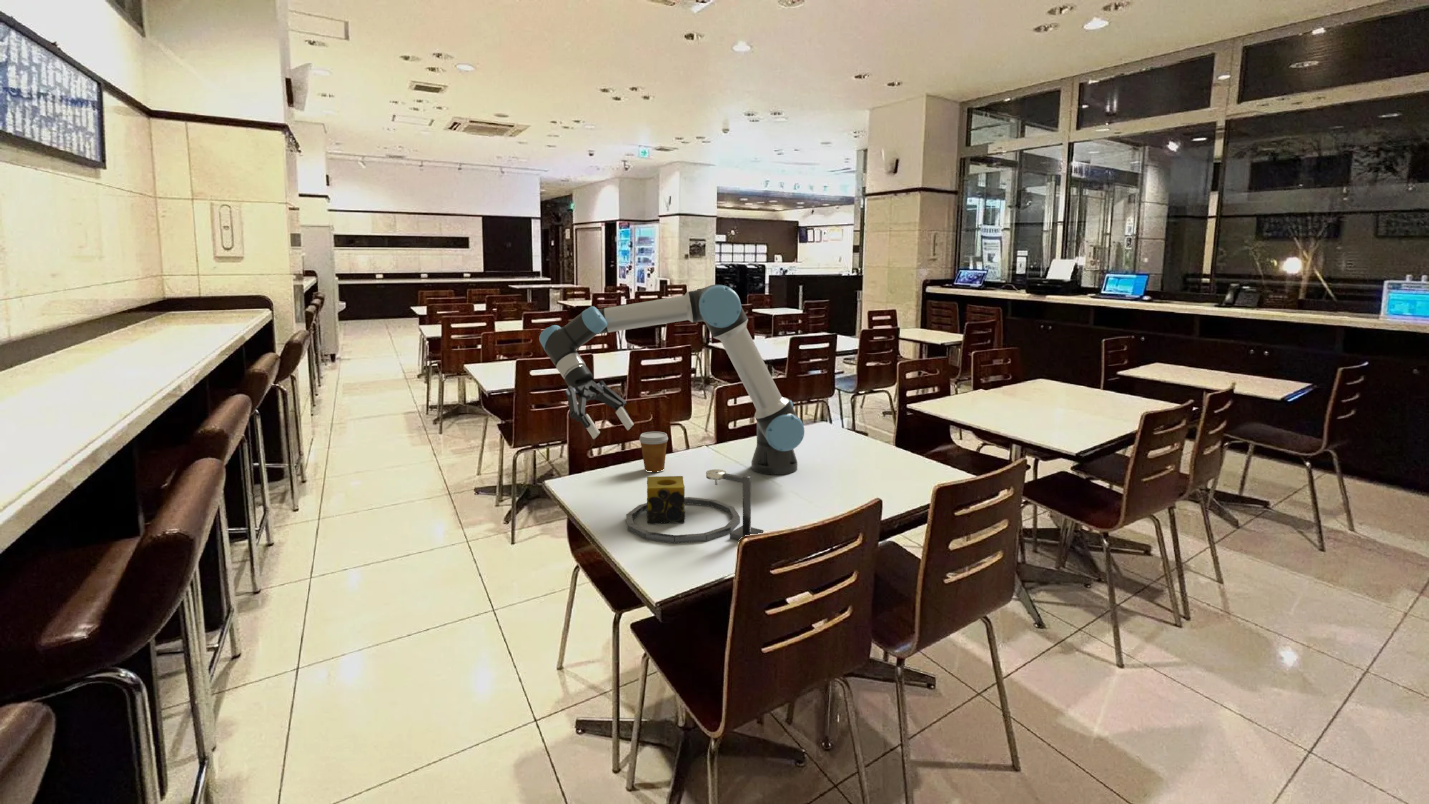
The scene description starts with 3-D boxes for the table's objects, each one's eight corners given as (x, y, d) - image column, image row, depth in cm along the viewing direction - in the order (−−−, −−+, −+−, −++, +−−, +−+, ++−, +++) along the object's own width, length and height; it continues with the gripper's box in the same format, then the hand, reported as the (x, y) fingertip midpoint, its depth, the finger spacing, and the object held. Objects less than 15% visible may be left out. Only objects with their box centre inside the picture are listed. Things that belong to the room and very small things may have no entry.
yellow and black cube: (647, 511, 188) (646, 476, 186) (684, 510, 189) (683, 475, 187) (646, 525, 178) (645, 488, 176) (685, 523, 179) (685, 486, 177)
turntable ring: (726, 499, 196) (726, 494, 196) (749, 537, 168) (749, 532, 168) (624, 506, 191) (624, 501, 191) (630, 547, 163) (630, 541, 163)
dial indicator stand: (763, 535, 170) (763, 475, 167) (750, 543, 165) (750, 481, 162) (715, 524, 178) (714, 466, 175) (701, 531, 173) (700, 472, 170)
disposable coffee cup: (671, 466, 230) (670, 431, 228) (666, 474, 221) (665, 438, 218) (643, 465, 231) (642, 431, 229) (637, 474, 222) (636, 438, 219)
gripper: (599, 376, 209) (636, 431, 204) (535, 386, 189) (574, 447, 184) (612, 360, 205) (650, 416, 200) (547, 369, 185) (588, 431, 180)
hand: (614, 431), depth 192 cm, fingers open, 13 cm apart
